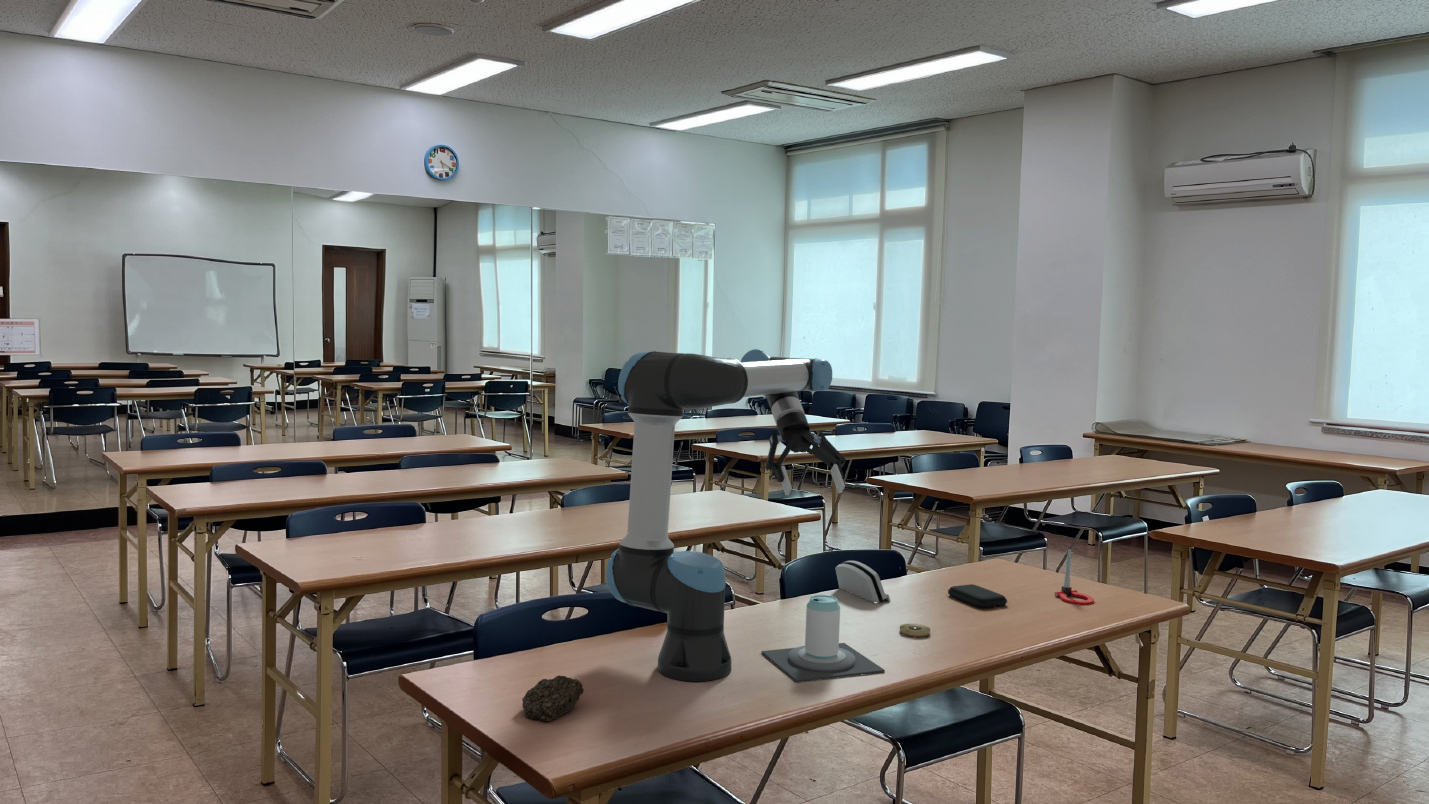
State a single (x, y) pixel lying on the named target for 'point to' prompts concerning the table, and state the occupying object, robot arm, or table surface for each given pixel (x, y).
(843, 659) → the flange station
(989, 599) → the carrying case or bag
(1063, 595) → the tow hook
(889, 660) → the table surface
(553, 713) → the concrete sample
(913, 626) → the small brass flange
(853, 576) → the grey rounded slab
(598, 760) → the table surface
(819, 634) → the can
